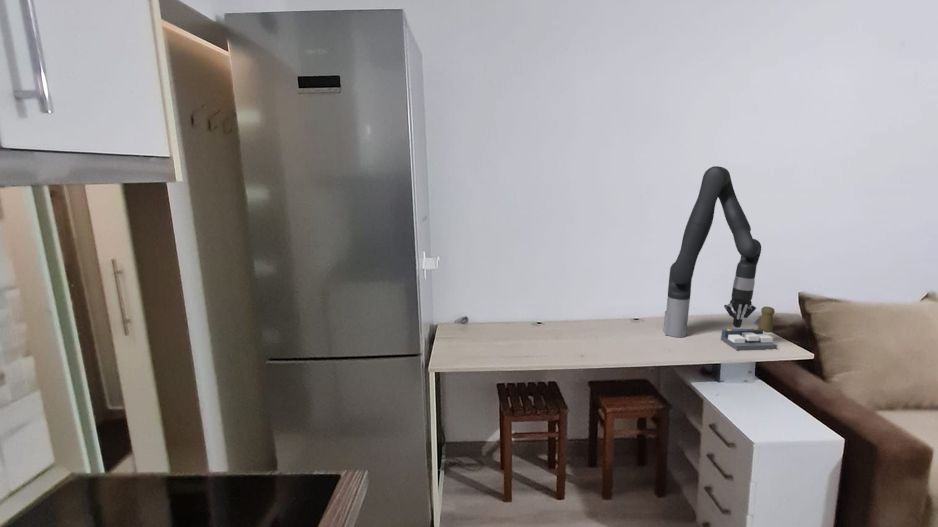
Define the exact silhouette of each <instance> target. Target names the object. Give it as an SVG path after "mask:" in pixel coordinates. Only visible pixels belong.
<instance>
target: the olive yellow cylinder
mask: <svg viewBox="0 0 938 527" xmlns="http://www.w3.org/2000/svg"><path fill="white" fill-rule="evenodd" d="M760 311H761V313H762V314H761V317H760V320H759V323H758V327H757V328H760V329H762V330H763V331H764V332H763V333H773V332H774V331H773V330H774V328H773V327H774V326H773V325H774V322H773V321H774V318H773V315H774V314H775V309H774V308H773V307H771V306H763V307H761V309H760Z"/></svg>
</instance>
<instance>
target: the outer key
mask: <svg viewBox="0 0 938 527" xmlns="http://www.w3.org/2000/svg"><path fill="white" fill-rule="evenodd" d="M756 335H758V336H759V341H760V342H762V343H765V342H772V343H773V341H774V338H773V336H770V335H769V334H767V333H763V334H756Z"/></svg>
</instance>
